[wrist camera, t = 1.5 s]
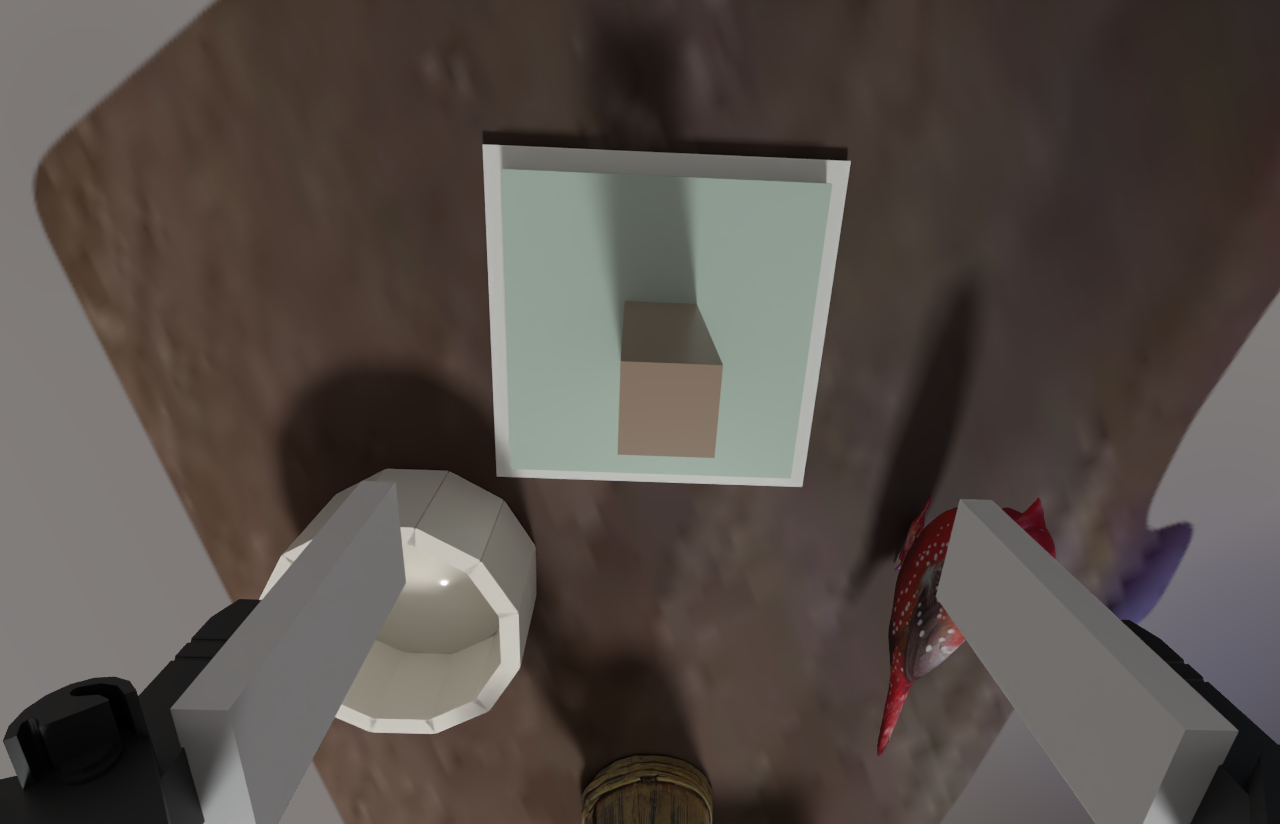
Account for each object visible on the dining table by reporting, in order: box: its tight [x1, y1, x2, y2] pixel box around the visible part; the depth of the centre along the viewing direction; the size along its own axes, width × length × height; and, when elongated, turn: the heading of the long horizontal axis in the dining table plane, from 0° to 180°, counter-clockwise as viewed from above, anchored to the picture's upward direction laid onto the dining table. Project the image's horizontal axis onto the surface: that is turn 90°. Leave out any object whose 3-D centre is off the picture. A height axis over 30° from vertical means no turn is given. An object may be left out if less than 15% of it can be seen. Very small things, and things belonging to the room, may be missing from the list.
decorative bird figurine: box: [877, 496, 1056, 756], centre depth 34 cm, size 3×18×10 cm, turn 166°
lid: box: [501, 169, 832, 479], centre depth 28 cm, size 15×15×11 cm
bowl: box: [259, 469, 537, 734], centre depth 36 cm, size 13×13×6 cm
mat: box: [483, 144, 851, 487], centre depth 33 cm, size 17×17×1 cm
